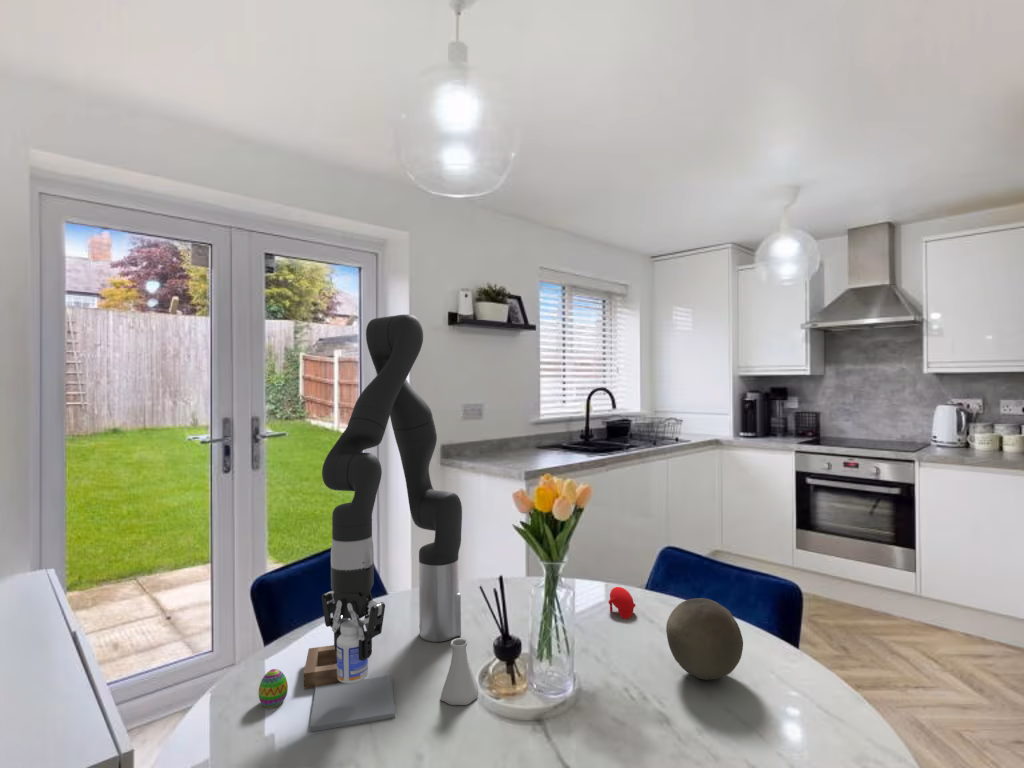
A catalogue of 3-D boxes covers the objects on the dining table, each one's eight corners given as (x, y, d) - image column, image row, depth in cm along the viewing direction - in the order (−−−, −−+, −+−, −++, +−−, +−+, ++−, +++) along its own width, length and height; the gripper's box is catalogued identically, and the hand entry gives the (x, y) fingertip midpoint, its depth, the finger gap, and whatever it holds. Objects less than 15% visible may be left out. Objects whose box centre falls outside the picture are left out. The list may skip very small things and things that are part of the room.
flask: (485, 688, 103) (484, 636, 103) (469, 710, 96) (469, 653, 96) (450, 682, 105) (450, 631, 106) (433, 703, 99) (432, 647, 99)
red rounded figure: (601, 595, 141) (605, 590, 136) (621, 585, 142) (625, 580, 137) (616, 625, 137) (621, 621, 132) (637, 615, 139) (642, 611, 133)
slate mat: (391, 679, 107) (391, 675, 107) (395, 717, 94) (395, 712, 94) (315, 690, 103) (315, 686, 103) (309, 731, 90) (309, 727, 90)
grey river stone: (669, 656, 115) (668, 585, 115) (741, 666, 110) (740, 592, 110) (664, 691, 101) (663, 610, 102) (746, 704, 97) (745, 620, 97)
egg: (255, 712, 96) (255, 678, 96) (262, 696, 101) (262, 664, 101) (284, 708, 97) (284, 675, 97) (290, 693, 102) (290, 661, 102)
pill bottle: (372, 669, 101) (372, 617, 101) (361, 685, 96) (361, 629, 96) (344, 668, 102) (344, 616, 102) (331, 683, 96) (331, 628, 96)
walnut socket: (361, 655, 117) (361, 641, 117) (361, 680, 106) (361, 665, 106) (308, 662, 114) (308, 648, 114) (303, 689, 103) (303, 673, 104)
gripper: (308, 561, 99) (309, 654, 99) (366, 573, 92) (366, 674, 92) (340, 551, 106) (340, 638, 106) (396, 561, 99) (396, 655, 98)
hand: (352, 654), depth 99 cm, fingers closed on pill bottle, 5 cm apart
